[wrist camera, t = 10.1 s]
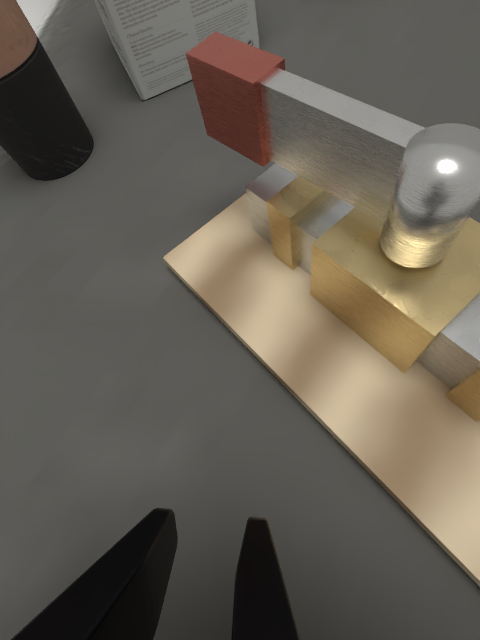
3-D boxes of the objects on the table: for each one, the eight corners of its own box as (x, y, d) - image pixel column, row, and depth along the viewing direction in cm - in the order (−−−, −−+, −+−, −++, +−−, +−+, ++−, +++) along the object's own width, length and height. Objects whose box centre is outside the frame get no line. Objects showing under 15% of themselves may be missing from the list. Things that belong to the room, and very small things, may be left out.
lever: (463, 236, 16) (522, 139, 12) (424, 279, 16) (471, 195, 11) (238, 119, 22) (222, 26, 18) (203, 148, 22) (177, 59, 17)
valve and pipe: (594, 384, 18) (695, 346, 13) (520, 471, 17) (601, 462, 12) (304, 188, 26) (304, 123, 22) (242, 238, 25) (228, 181, 21)
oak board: (695, 367, 19) (719, 359, 18) (502, 610, 16) (516, 618, 15) (321, 146, 30) (322, 133, 29) (168, 267, 27) (162, 257, 26)
